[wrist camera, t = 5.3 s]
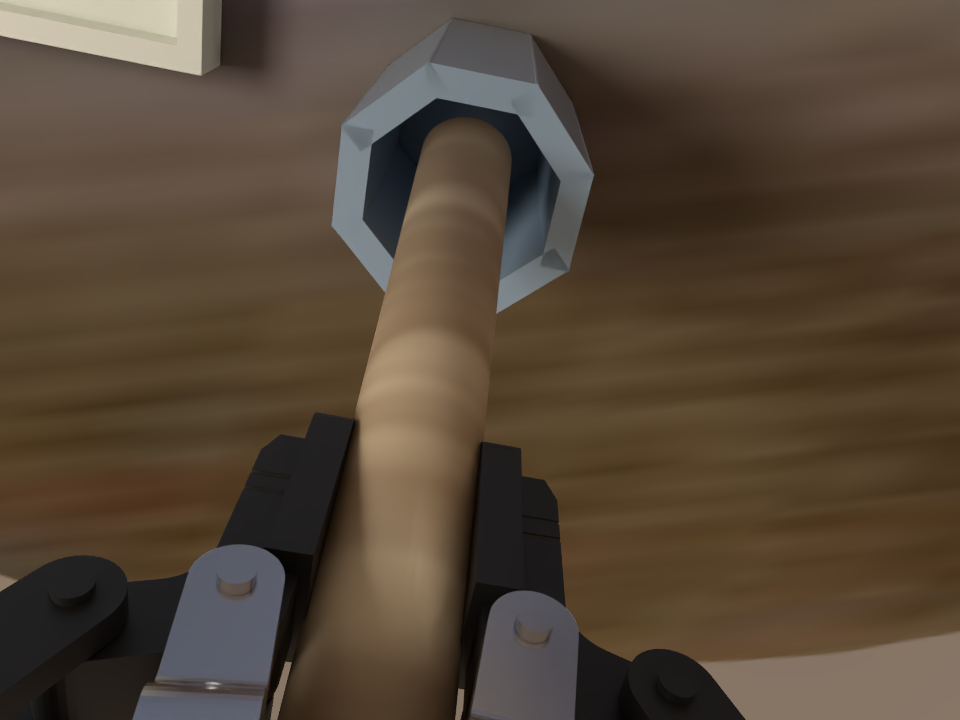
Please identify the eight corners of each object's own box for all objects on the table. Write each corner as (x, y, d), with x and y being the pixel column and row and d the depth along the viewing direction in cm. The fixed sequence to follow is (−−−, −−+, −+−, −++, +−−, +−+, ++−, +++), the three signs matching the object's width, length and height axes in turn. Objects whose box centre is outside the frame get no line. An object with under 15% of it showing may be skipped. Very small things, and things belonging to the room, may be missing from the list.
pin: (429, 103, 21) (264, 572, 7) (520, 121, 21) (521, 614, 8) (399, 301, 24) (243, 887, 11) (478, 316, 24) (426, 911, 11)
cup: (395, 5, 28) (349, 45, 20) (586, 45, 28) (614, 99, 20) (372, 191, 31) (324, 289, 23) (543, 225, 31) (553, 332, 23)
